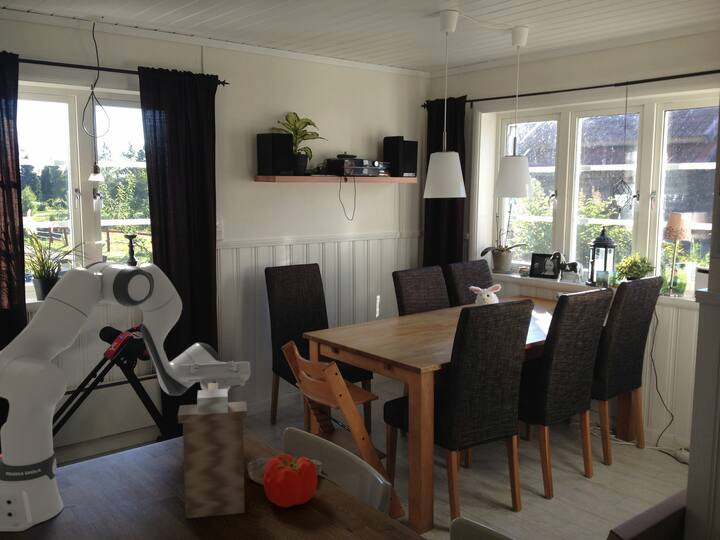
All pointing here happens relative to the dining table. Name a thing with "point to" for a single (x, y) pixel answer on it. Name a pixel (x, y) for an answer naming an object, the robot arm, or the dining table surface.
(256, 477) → the clay tablet
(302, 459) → the tomato
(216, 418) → the walnut stand
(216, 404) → the mallet
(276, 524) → the dining table surface
